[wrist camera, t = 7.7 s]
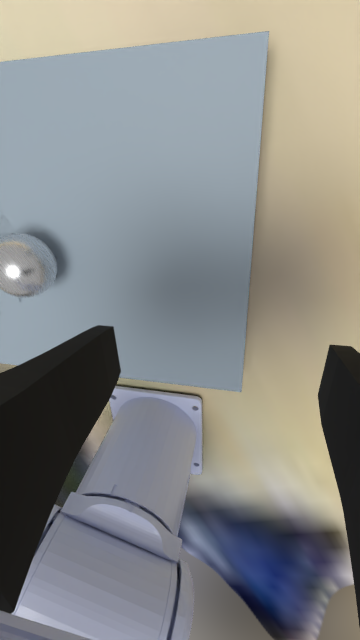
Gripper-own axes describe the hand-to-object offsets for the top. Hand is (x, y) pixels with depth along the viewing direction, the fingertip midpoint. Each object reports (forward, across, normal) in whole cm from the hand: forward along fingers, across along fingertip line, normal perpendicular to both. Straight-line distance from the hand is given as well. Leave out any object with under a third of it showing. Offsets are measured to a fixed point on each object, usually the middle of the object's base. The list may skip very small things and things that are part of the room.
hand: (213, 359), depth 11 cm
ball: (+6, +11, -1) cm, 13 cm away
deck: (+10, +12, -1) cm, 16 cm away
